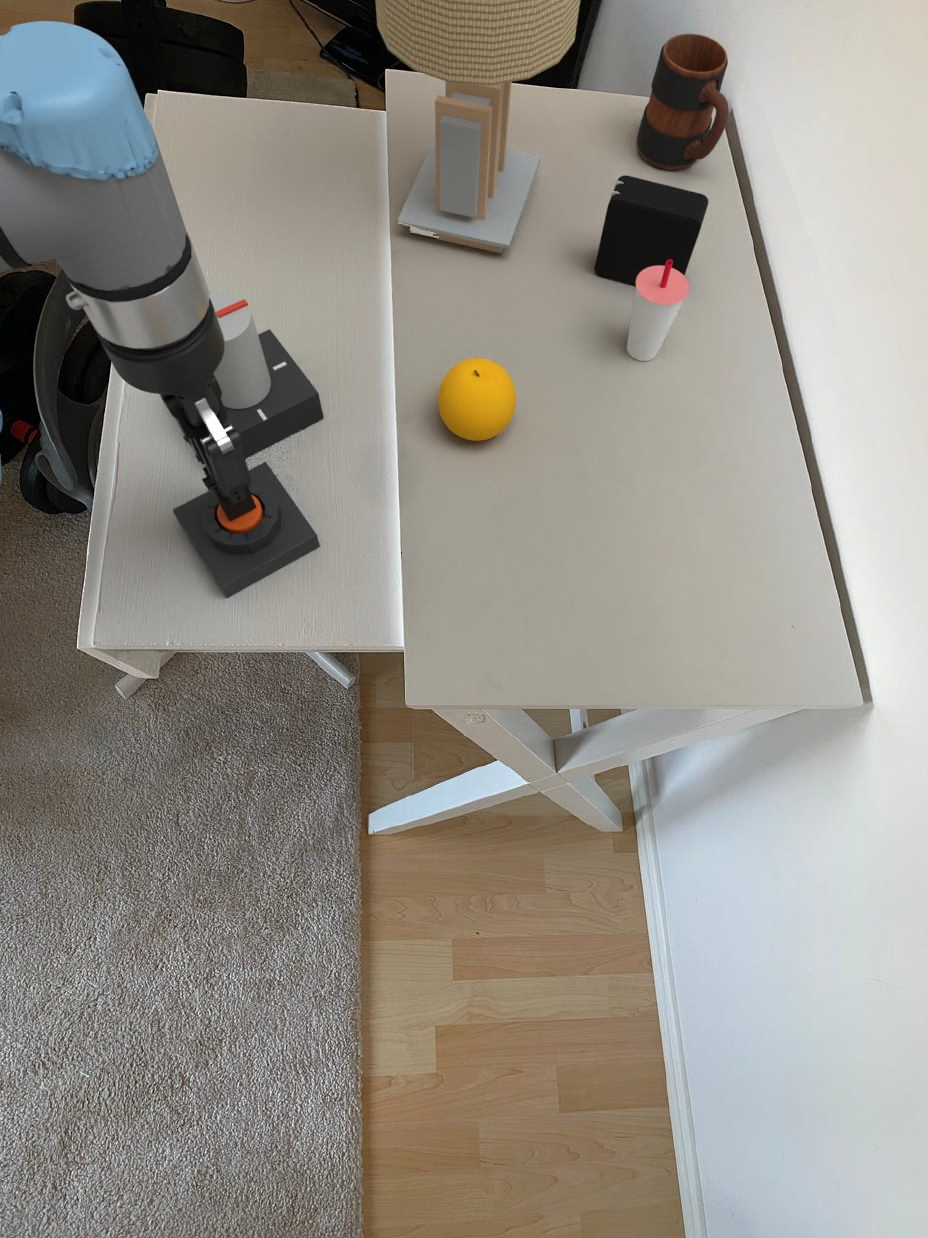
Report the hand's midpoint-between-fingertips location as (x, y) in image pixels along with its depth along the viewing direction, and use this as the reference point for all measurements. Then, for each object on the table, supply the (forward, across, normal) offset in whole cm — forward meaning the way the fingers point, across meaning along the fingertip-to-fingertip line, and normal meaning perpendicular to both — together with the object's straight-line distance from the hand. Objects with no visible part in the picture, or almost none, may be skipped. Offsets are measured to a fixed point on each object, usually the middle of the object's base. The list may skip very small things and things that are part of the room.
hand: (239, 508), depth 72 cm
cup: (+5, +3, +47) cm, 47 cm away
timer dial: (0, -13, +7) cm, 15 cm away
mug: (+5, -19, +71) cm, 74 cm away
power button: (+2, 0, 0) cm, 2 cm away
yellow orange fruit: (+5, +1, +26) cm, 26 cm away
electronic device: (+5, -6, +54) cm, 54 cm away
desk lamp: (+5, -26, +44) cm, 51 cm away
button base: (+5, 0, 0) cm, 5 cm away
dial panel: (+5, -13, +7) cm, 15 cm away
